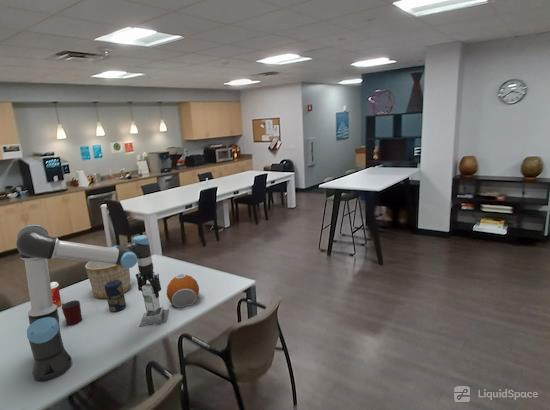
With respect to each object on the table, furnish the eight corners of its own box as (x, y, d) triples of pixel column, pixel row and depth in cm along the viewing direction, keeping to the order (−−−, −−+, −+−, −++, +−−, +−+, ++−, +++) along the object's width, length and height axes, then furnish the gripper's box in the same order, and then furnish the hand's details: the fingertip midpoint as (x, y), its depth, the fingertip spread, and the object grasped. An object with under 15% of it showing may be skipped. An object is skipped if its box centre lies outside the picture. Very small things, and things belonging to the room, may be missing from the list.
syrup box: (160, 306, 196) (156, 282, 193) (154, 311, 191) (150, 287, 188) (151, 305, 198) (147, 282, 195) (145, 311, 192) (141, 287, 189)
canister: (120, 312, 205) (114, 284, 201) (105, 312, 207) (100, 284, 203) (129, 304, 214) (124, 277, 210) (116, 304, 216) (110, 277, 212)
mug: (58, 323, 198) (54, 306, 196) (72, 315, 206) (68, 298, 204) (72, 327, 194) (68, 309, 191) (86, 318, 201) (82, 301, 199)
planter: (103, 304, 217) (97, 272, 212) (84, 295, 233) (77, 264, 228) (141, 287, 237) (135, 257, 232) (121, 279, 252) (115, 251, 248)
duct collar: (166, 322, 190) (164, 316, 189) (139, 327, 188) (138, 320, 187) (169, 310, 203) (168, 303, 203) (144, 313, 201) (143, 307, 201)
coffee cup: (45, 308, 218) (40, 286, 215) (58, 302, 225) (53, 280, 222) (53, 310, 214) (47, 288, 211) (66, 304, 221) (61, 282, 218)
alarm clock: (198, 292, 223) (195, 267, 219) (202, 304, 206) (198, 277, 202) (168, 299, 217) (163, 273, 213) (168, 312, 201) (164, 284, 197)
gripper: (164, 261, 189) (170, 300, 194) (135, 260, 195) (142, 297, 200) (155, 267, 182) (162, 307, 187) (126, 265, 188) (133, 304, 193)
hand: (152, 302), depth 193 cm, fingers closed on syrup box, 6 cm apart
